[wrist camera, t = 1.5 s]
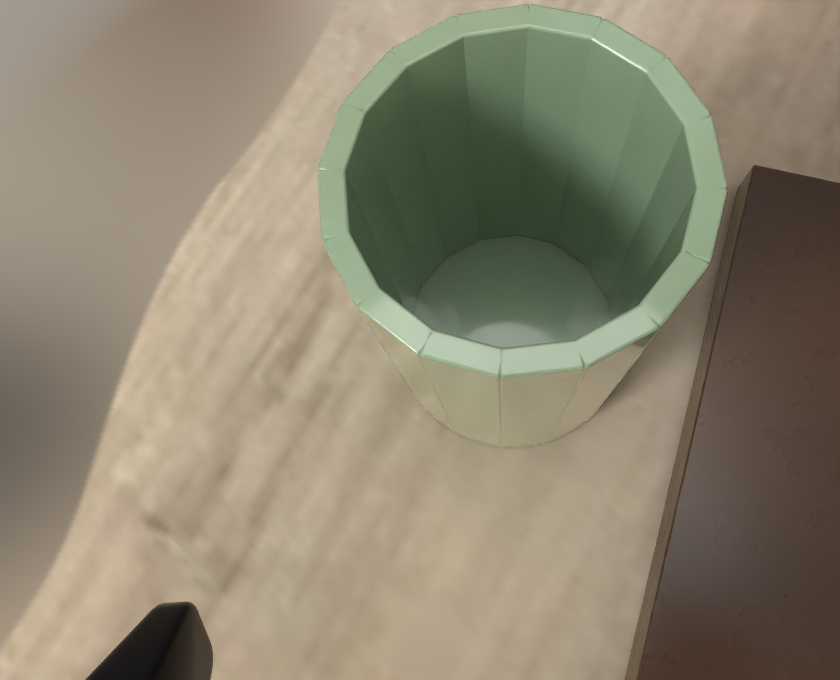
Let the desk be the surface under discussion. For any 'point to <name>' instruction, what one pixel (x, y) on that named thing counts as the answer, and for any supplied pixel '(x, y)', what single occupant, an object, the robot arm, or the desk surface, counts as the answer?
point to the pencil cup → (520, 213)
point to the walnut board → (757, 458)
